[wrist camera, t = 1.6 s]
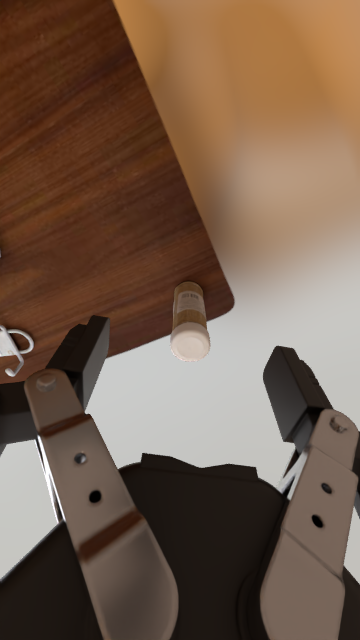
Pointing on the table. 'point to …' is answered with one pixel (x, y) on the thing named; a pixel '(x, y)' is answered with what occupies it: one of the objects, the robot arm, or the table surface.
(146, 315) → the table surface
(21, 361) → the wall mount rack
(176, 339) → the sprinkles bottle
